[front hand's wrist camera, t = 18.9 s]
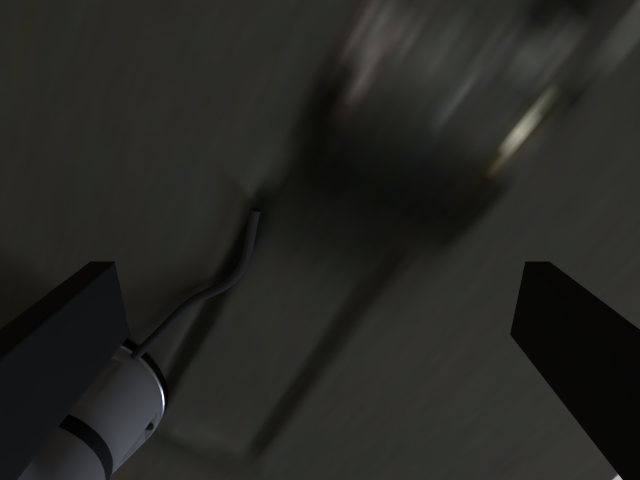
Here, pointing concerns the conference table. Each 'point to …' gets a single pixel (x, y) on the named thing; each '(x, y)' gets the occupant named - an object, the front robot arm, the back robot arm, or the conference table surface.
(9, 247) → the conference table surface
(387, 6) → the conference table surface
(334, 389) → the conference table surface
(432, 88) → the conference table surface
